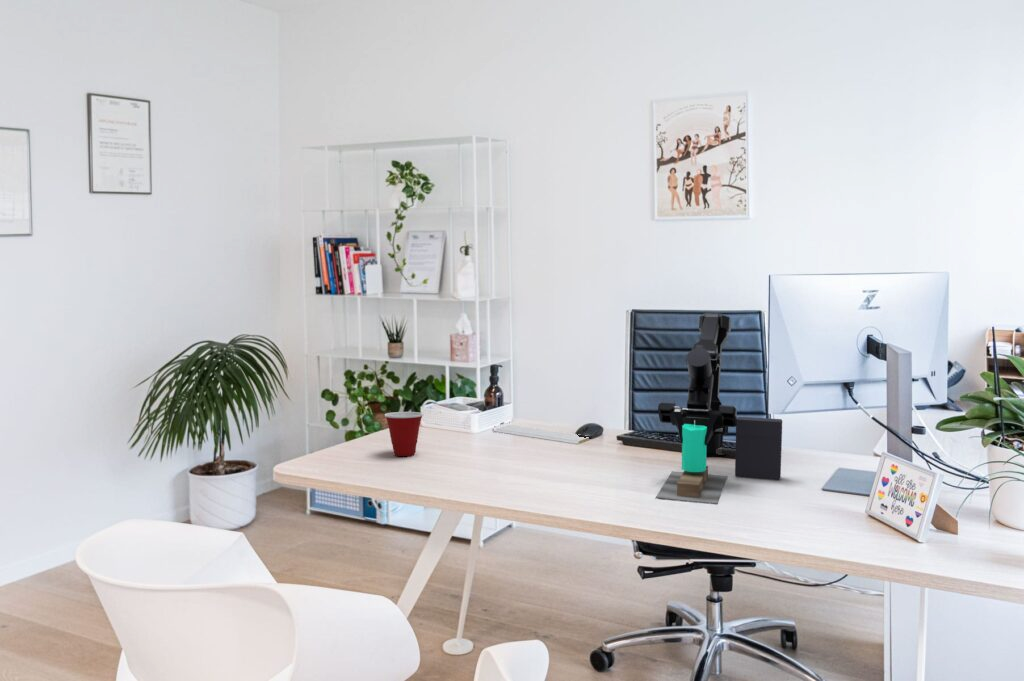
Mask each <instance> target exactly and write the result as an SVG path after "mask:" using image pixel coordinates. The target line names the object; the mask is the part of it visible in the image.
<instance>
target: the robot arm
mask: <svg viewBox="0 0 1024 681" xmlns="http://www.w3.org/2000/svg"><path fill="white" fill-rule="evenodd" d="M702 313H703V314H702V315H700V316H699V317H698V318H699V321H698V330H699V331H700V336H699V339H698V342H696V343H694V344H693V346H692V348H691V350H690V351H689V352H688V353H687V354H686V356H685V357H686V359H685V360H686V361H685V362H686V366H687V370H688V371H687V372H688V376H690V378H689V379H690V380H689V384H688V393H687V399H686V400H687V401H686V406H685V407H686V408H684V407H681V406H677V405H676V402H673V401H671V402H668V401H661V402H660V403H659V404H658V406H657V412H658V417H659V422H661V423H666V424H671V425H672V426H676V429H677V432H678V436H679V441H680V444H681V445H682V442H683V437H682V426H683V425H685V424H692V425H694V420H695V425H702V426H706V427H707V432H706V436H705V445H707V450H706V457H714V456H715V457H718V454H716V449H718V448H720V447H723V448H724V435H726V434H729V428H736V424H737V418H738V415H737V413H738V412H737V408H736V406H735V405H725V404H724V405H723V404H722V401H721V400H720V385H721V383H720V382H721V365H722V362H723V358H722V351H723V350H722V349H723V347H724V345H725V344H726V342H728V339H729V333H731V331H732V330H731V329H732V320H731V317H730V316H728V315H725V314H724V315H723V313H720V312H713V311H712V312H710V311H709V312H708V311H706V312H705V313H704V312H702Z"/></svg>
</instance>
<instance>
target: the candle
mask: <svg viewBox="0 0 1024 681" xmlns="http://www.w3.org/2000/svg"><path fill="white" fill-rule="evenodd" d="M706 432H707V427H706V426H702V425H695V420H694V425H692V424H684V425H683V426H682V437H683V442H682V444H681V470H683V472H684V471H689V472H703V471H706V466H707V456H706V450H707V445H705V436H706Z"/></svg>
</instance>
